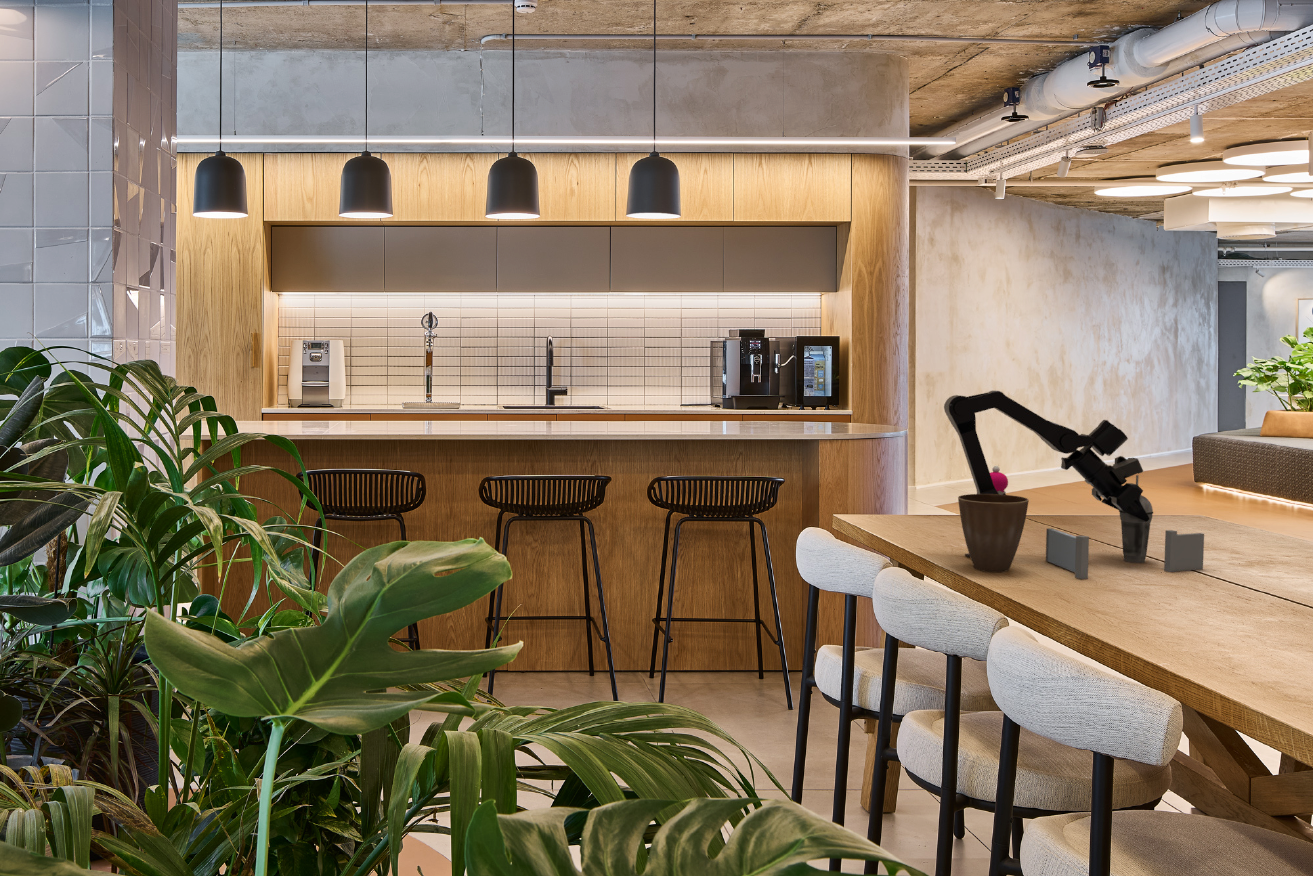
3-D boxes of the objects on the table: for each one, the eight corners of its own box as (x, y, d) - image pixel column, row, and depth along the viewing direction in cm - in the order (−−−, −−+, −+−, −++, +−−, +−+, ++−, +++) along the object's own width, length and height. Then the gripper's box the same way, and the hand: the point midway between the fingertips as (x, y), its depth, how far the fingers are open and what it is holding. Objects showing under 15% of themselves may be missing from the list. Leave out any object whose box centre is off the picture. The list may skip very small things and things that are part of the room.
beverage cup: (1116, 562, 235) (1118, 476, 233) (1118, 557, 241) (1120, 473, 240) (1151, 565, 231) (1154, 477, 230) (1152, 559, 238) (1155, 474, 236)
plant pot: (1031, 577, 217) (1033, 503, 216) (959, 574, 220) (961, 501, 219) (1021, 564, 232) (1023, 494, 231) (953, 561, 235) (955, 493, 234)
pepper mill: (1013, 546, 256) (1015, 467, 255) (984, 546, 256) (986, 467, 255) (1003, 541, 263) (1005, 464, 262) (975, 541, 263) (977, 464, 262)
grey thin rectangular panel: (1088, 575, 218) (1089, 541, 217) (1081, 575, 218) (1083, 541, 217) (1051, 560, 235) (1052, 528, 235) (1045, 560, 235) (1046, 528, 235)
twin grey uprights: (1080, 579, 215) (1082, 537, 215) (1074, 577, 217) (1076, 535, 216) (1204, 569, 226) (1205, 529, 225) (1197, 568, 228) (1198, 528, 227)
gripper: (1134, 448, 225) (1185, 499, 225) (1106, 443, 244) (1153, 489, 244) (1096, 483, 227) (1146, 533, 226) (1071, 475, 245) (1118, 521, 245)
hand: (1141, 518), depth 235 cm, fingers closed on beverage cup, 7 cm apart
